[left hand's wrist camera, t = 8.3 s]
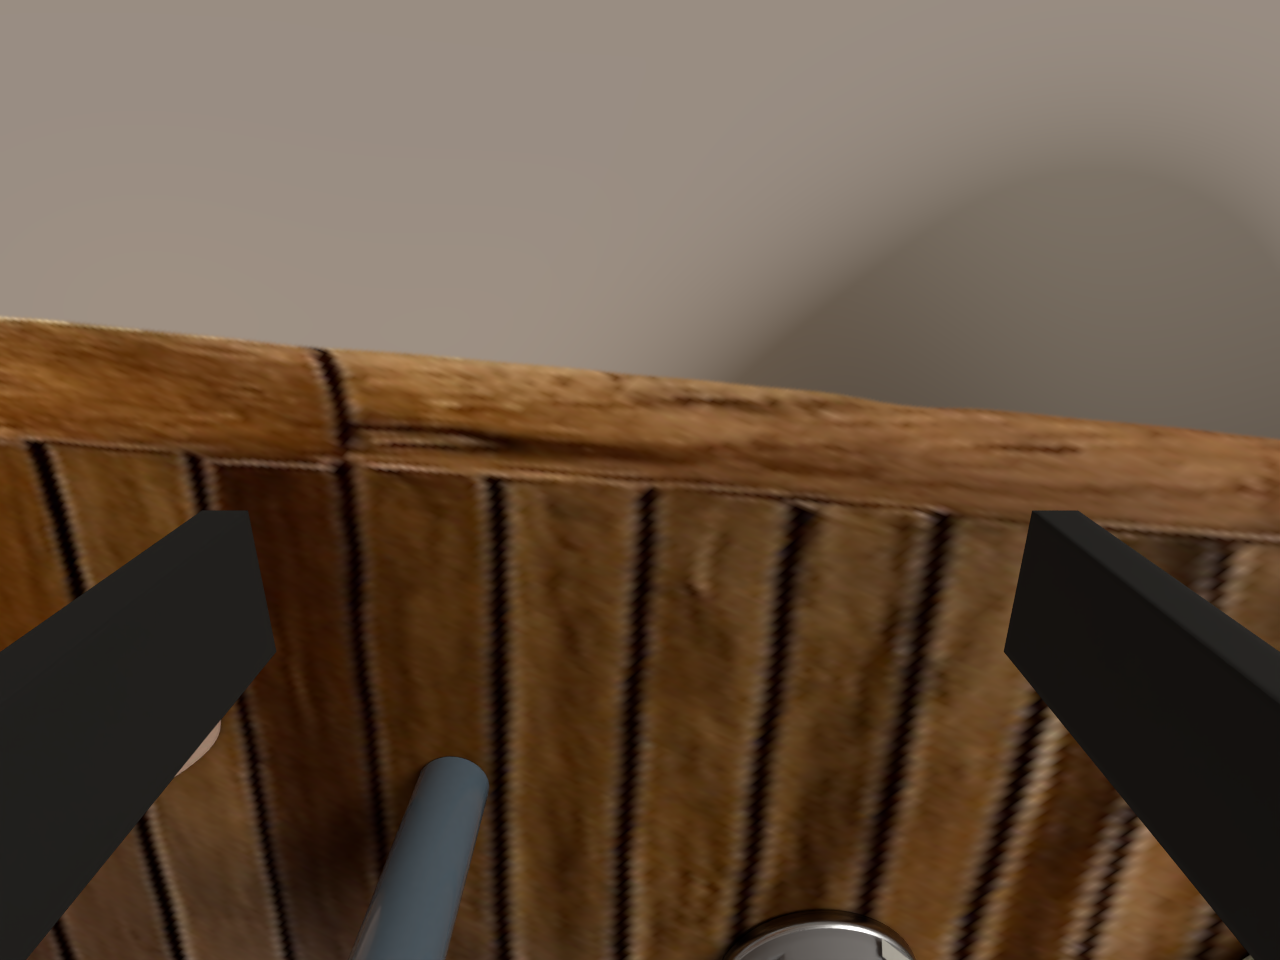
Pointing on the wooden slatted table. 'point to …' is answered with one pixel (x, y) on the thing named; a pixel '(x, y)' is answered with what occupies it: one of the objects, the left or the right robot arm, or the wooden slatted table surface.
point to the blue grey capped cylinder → (426, 866)
